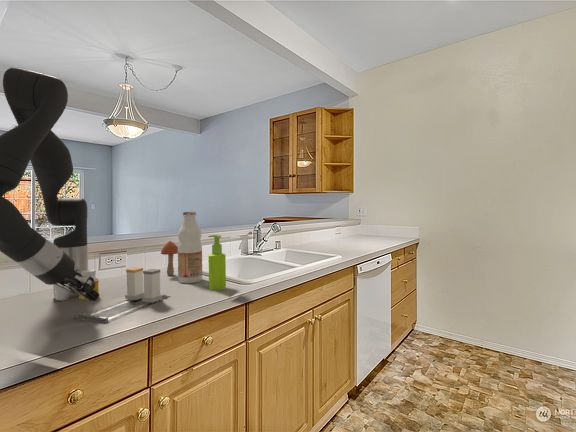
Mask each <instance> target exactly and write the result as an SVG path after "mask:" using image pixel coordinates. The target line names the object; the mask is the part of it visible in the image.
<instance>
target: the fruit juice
mask: <svg viewBox="0 0 576 432" xmlns="http://www.w3.org/2000/svg"><path fill="white" fill-rule="evenodd" d="M196 214H197V212H196V211H183V212H182V216H183V219H182V223H181V226H180V228H179V229H178V231H177V237H178V241H179V242H178V244H177V247H178V253H177V273H178V274H177V278H178V282H179V283H180V284H194V283H199V282H202V281H203V245H202V242H201V238H202V230H201V228H200V227H199V225H198V223H197V219H196Z"/></svg>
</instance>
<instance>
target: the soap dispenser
mask: <svg viewBox="0 0 576 432" xmlns="http://www.w3.org/2000/svg"><path fill="white" fill-rule="evenodd" d="M207 237H208V238H214V239H213V240H214V241H213V242H214V243H213V244H211V253H210V254H208V289H209V290H211V291H219V290H220V291H221V290H223V289H224V290H225V289H227V282H226V281H227V280H226V279H227V278H226V277H227V275H226V274H227V272H226V271H227V270H226V269H227V267H226V266H227V265H226V254H225V253H223V248H222V247H223V245H222V244H221V243H220V239H221V238H222V235H220V234H211V235H207Z"/></svg>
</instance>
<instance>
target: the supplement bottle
mask: <svg viewBox="0 0 576 432" xmlns="http://www.w3.org/2000/svg"><path fill="white" fill-rule="evenodd" d="M96 272H97V271H96V269H88V270H84V271H81V274H82V276H83V277H84V278H86V279H87V278H89V277H92V278H94V282H95V287H94V289H93V290H95V291H96V292H97V293H99V292H100V291H99V290H100V289H99V288H100V287H99V277H98V276H95V275H97V273H96ZM99 294H100V293H99ZM78 300H81V301H83V300H88V299H87V298H86V297H84V296H83V295H82V294H81V295H79V296H78Z"/></svg>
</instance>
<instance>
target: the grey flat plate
mask: <svg viewBox="0 0 576 432" xmlns="http://www.w3.org/2000/svg"><path fill="white" fill-rule="evenodd" d="M143 293H144V291H143ZM160 295H162V299H161V300H158V301H156V302H153V303H151V302H144V301H142V298H140V299H137V300H130V299H124V300H122V301H119V302H116V303H113V304H111V305H107V306H105V307H102V308H100V309H96V310H94V311H91V312H87V313H76V317H74V318H73V319H74V320H79V321H85V322H90V323H91V322H92V323H97V324H101V325H102V324H103V325H104V324H105V325H106V324H108V323H111V322H113V321H115V320H118V319H120V318H123V317H125V316H128V315H130V314H133V313H135V312H137V311H140V310H142V309H145V308H147V307H150V306H152V305H154V304H156V303H159V302H162V301H164V300H166V299H169V298H171V297H172V296H171V295H167V294H166V293H165V294H163V293H160Z"/></svg>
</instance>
